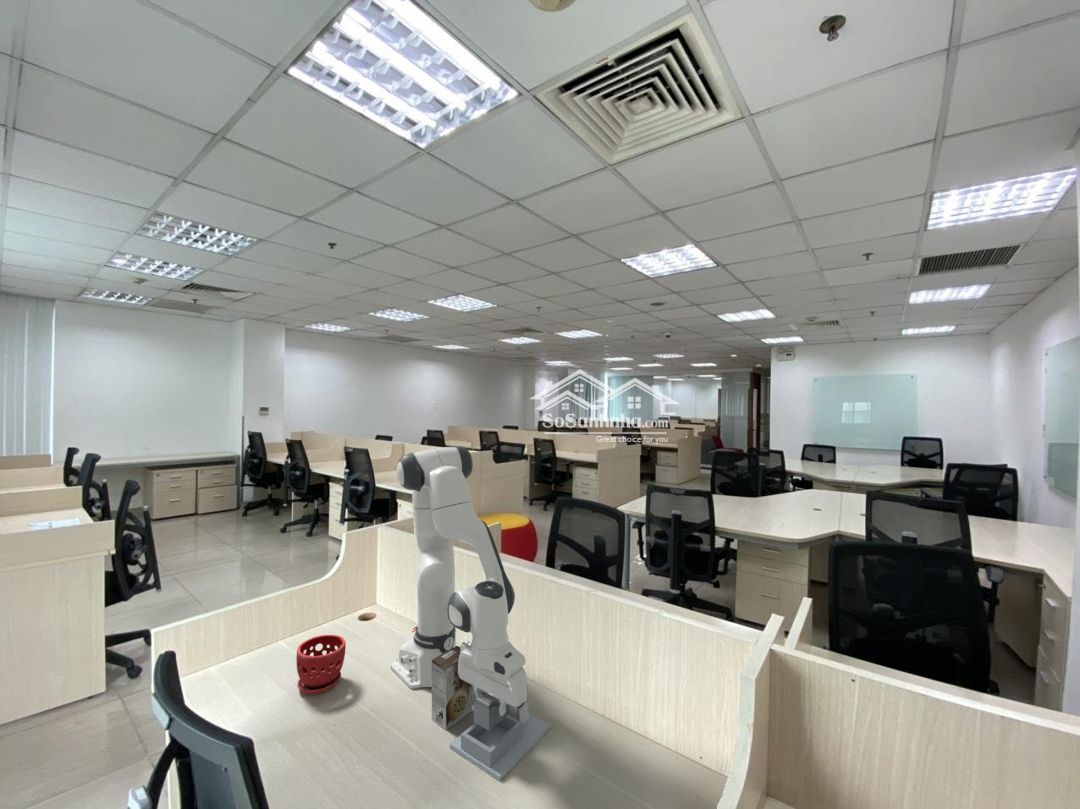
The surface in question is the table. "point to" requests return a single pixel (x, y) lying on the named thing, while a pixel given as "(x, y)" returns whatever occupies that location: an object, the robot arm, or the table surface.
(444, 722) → the coffee box
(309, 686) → the plant pot
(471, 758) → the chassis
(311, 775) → the table surface
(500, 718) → the grey rectangular block
